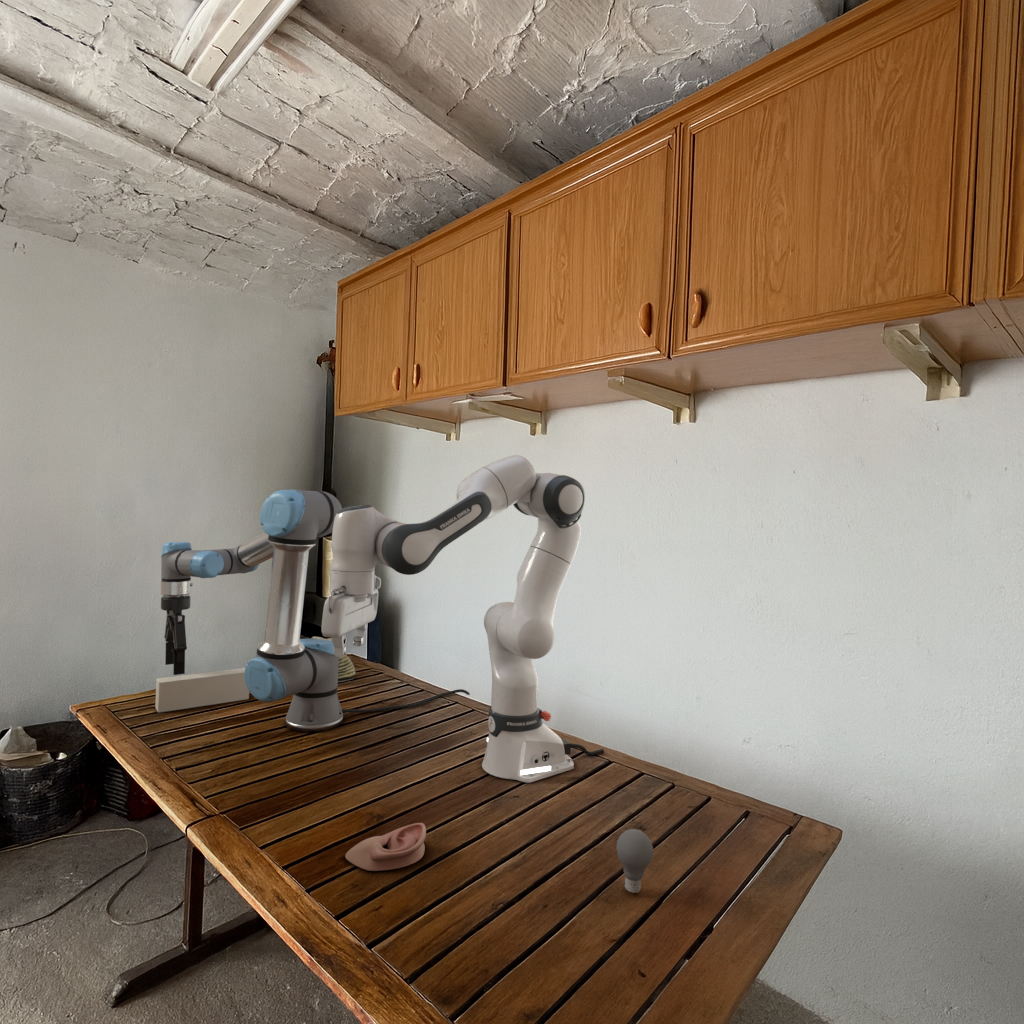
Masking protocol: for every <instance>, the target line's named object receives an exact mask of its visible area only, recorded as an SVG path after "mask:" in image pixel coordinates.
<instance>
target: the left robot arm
mask: <svg viewBox="0 0 1024 1024" xmlns="http://www.w3.org/2000/svg"><path fill="white" fill-rule="evenodd" d="M342 508H343V507H342V504H341V502H340V501H339V499H338V498H337V497H336V496H335V495H333V494H331V493H329V492H327V491H323V490H302V489H290V488H289V489H282V490H281V489H280V490H277V491H274V492H272V493H271V494H270V495H269V496H267V498H266V499H265V500H264V502H263V504H262V505H261V508H260V513H259V520H260V521H259V522H260V525H261V526H262V527H261V528H262V530H263V532H262V533H260V534H258V535H256V536H254V537H252V538H250V539H249V540H247V541H245V542H243V543H242V544H240V545H238V546H236V547H233V548H232V547H231V548H220V549H203V550H202V549H199V550H198V549H193V548H192V544H191V542H189V541H166V542H164V543H163V544H162V546H161V555H160V558H161V560H160V562H161V565H160V566H161V573H160V575H161V580H160V595H161V598H160V609H161V610H162V611H166V619H165V620H166V621H165V629H164V636H163V637H164V641H165V664H164V665H166V666H167V665H173V671H172V672H173V676H180V675H186V674H185V673H186V651H187V649H188V645H187V634H186V615H184V614H183V611H185V610H188V609H190V608H191V596H190V594H191V587H193V585H194V584H193V583H192V582H191V581H192V577H194V578H200V579H214V578H216V577H217V576H224V575H225V576H226V575H236V574H247V573H252V572H254V571H256V570H258V567H259V566H260V564H262V563H264V562H266V561H269V560H270V559H271V560H272V561H271V569H270V581H269V589H268V590H269V591H268V598H267V599H268V601H267V610H266V619H265V628H264V629H265V630H264V639H263V640H262V641H261V642H260V643H258V644H257V646H256V655H255V657H253V658H251V659H249V660H248V662H247V663H246V664H245V666H244V668H245V671H244V678H245V683H246V686H247V688H248V689H249V694H251V695H252V696H253V698H255V699H256V700H258V701H260V702H263V703H270V702H275V701H280V700H283V699H285V698H287V697H291V696H293V697H292V699H291V702H290V704H289V708H288V711H287V713H286V715H285V726H286V728H287V729H289V730H291V731H294V732H295V731H296V732H301V733H316V732H325V731H329V730H332V729H335V728H337V727H339V726H340V725H342V723H343V722H344V714H343V713H355V714H356V713H358V714H359V713H360V714H365V713H375V712H376V713H377V712H382V711H391V710H398V709H399V710H400V709H406V708H414V707H416V706H420V705H423V704H426V703H428V702H432V701H435V700H436V699H438V698H441V697H445V696H449V695H453V694H457V693H464V694H466V695H467V696H469V695H471V693H470V692H469V691H467V690H465V689H461V688H458V689H454V690H450V691H446V692H442V693H438V694H436V695H434V696H432V697H428V698H426V699H423V700H421V701H417V702H414V703H413V702H412V703H408V704H401V705H390V706H385V707H377V708H366V709H361V708H360V709H357V708H344V709H343V708H342V706H341V702H340V699H339V695H338V683H339V682H338V664H339V657H336V656H335V655H334V645H333V642H332V641H329V640H322V639H311V638H301V629H302V620H303V611H304V610H303V609H304V602H305V590H306V582H307V573H308V563H309V552H310V550H311V549H312V548H313V547H315V546H316V545H317V540H318V539H321V538H323V537H325V536H327V535H329V534H332V532H333V524H334V519H335V516H336V514H337V512H338V511H339V510H341V509H342Z"/></svg>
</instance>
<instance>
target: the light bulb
mask: <svg viewBox="0 0 1024 1024" xmlns="http://www.w3.org/2000/svg"><path fill="white" fill-rule="evenodd" d="M615 849H616V854H617V857H618V859H619V861H620V863H621V865H622V867H623V873H624V874H623V875H624V876H625V878H624V888H625V890H627V891H628V892H630V893H634V894H635V893H639V892H640V891H641V889H642V887H641V886H642V879H643V877H644V875H645V871H646V868H647V867H648V866H649V864H650V863H651V861H652V859H653V855H654V847H653V843H652V841H651V838H649V836H648V835H647V834H646V833H645V832H643V831H642V830H641V829H636V828H629V829H627V830H625V831H623V832H622V833H621V834H620V835H619V837H618V839H617V841H616V847H615Z"/></svg>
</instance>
